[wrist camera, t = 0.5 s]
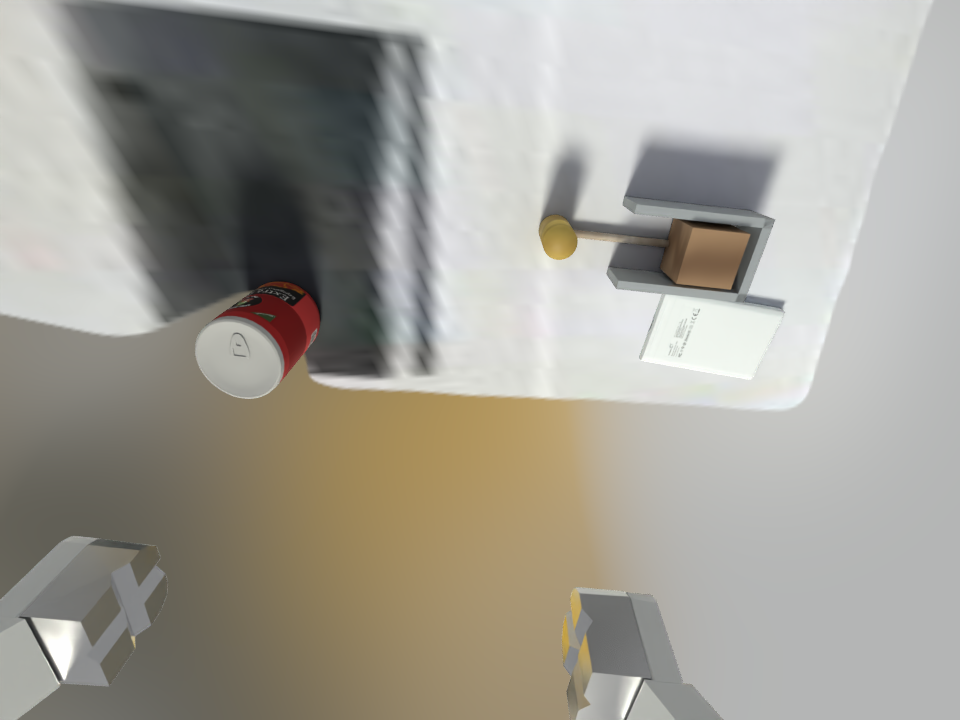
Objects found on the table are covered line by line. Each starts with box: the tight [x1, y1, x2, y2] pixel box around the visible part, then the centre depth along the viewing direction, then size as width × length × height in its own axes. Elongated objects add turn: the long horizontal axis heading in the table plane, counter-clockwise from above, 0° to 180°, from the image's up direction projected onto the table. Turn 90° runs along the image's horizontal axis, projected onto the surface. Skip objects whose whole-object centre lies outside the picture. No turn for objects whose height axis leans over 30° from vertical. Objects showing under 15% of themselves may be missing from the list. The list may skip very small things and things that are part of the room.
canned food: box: [195, 282, 320, 399], centre depth 47 cm, size 8×8×11 cm
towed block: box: [539, 215, 750, 290], centre depth 44 cm, size 5×18×5 cm, turn 84°
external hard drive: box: [639, 294, 785, 379], centre depth 51 cm, size 2×8×12 cm
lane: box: [607, 196, 775, 303], centre depth 45 cm, size 8×12×4 cm, turn 84°
